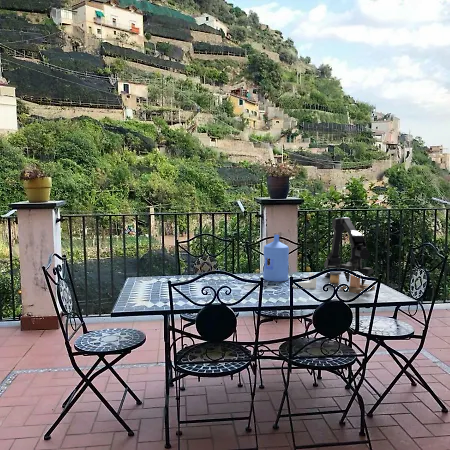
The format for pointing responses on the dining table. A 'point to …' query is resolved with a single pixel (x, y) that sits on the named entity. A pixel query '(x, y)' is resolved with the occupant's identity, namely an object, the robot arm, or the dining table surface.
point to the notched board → (357, 290)
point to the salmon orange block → (354, 281)
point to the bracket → (308, 283)
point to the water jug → (276, 261)
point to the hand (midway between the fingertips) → (355, 283)
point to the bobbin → (334, 278)
